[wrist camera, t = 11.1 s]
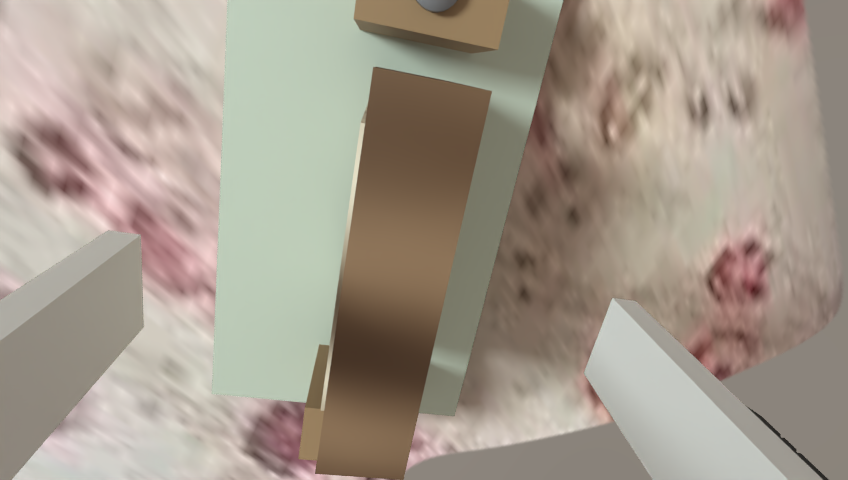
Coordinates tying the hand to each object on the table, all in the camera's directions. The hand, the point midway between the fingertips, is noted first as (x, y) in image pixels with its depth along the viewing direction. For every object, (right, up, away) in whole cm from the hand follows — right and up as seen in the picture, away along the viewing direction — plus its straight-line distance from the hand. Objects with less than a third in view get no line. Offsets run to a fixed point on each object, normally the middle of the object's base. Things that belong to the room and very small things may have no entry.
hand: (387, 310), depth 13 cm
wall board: (-2, +4, +11) cm, 12 cm away
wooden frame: (-1, +3, +10) cm, 10 cm away
